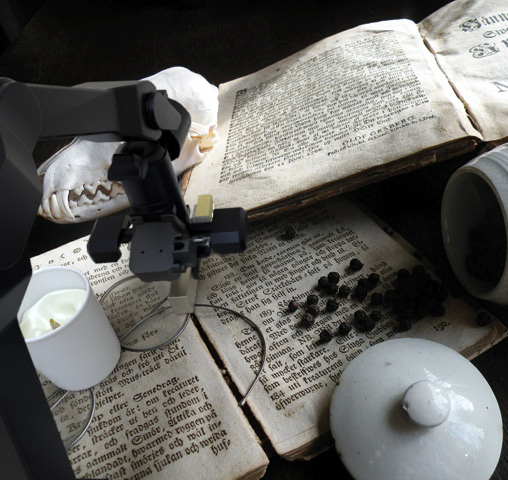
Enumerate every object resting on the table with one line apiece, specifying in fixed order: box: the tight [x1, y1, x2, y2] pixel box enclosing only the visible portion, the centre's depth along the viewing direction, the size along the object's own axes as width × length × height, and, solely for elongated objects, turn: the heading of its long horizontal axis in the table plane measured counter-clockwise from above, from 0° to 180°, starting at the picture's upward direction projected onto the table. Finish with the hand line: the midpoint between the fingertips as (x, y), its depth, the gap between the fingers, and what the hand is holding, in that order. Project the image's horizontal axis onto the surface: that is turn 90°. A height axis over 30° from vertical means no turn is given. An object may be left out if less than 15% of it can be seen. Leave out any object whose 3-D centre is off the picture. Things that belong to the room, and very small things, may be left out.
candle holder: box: [17, 265, 122, 392], centre depth 53 cm, size 10×10×12 cm
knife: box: [167, 203, 199, 315], centre depth 66 cm, size 18×2×4 cm, turn 4°
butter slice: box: [195, 193, 215, 222], centre depth 71 cm, size 2×9×4 cm, turn 4°
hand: (187, 277), depth 64 cm, fingers closed on knife, 2 cm apart
